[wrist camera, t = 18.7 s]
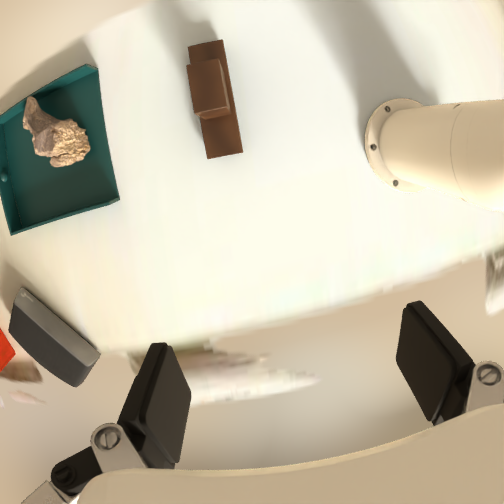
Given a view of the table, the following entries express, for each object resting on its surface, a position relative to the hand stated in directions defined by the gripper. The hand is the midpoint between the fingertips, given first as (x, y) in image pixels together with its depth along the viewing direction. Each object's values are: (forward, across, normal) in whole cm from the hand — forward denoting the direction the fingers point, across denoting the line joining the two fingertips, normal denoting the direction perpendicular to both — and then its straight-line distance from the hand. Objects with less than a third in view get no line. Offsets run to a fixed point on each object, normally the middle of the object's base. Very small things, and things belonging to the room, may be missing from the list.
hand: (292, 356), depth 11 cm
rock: (+26, +26, -17) cm, 40 cm away
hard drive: (+26, +42, +16) cm, 52 cm away
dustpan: (+26, +34, -14) cm, 45 cm away
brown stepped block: (+26, +3, -14) cm, 30 cm away
